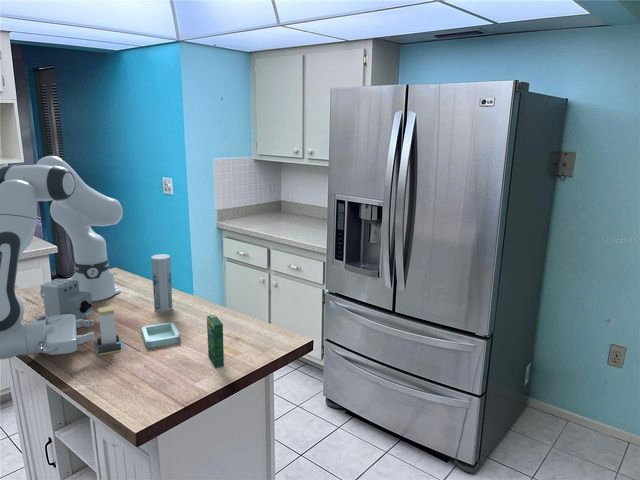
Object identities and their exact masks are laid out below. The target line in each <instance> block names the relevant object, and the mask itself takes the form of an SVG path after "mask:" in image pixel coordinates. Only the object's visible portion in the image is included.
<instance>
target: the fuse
mask: <svg viewBox="0 0 640 480" xmlns="http://www.w3.org/2000/svg"><path fill="white" fill-rule="evenodd" d="M97 311H98V319H99V331H100V337H101V345H105V344H111V343H116V334H117V332H116V321H115V319H116V318H115V308H114V305H110V306H104V307H98V310H97Z"/></svg>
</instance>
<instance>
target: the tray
mask: <svg viewBox="0 0 640 480" xmlns="http://www.w3.org/2000/svg"><path fill="white" fill-rule="evenodd" d="M141 335H142V336H141V337H143V341H144V344H145V347H146V349H152V348H157V347H161V346H162V347H163V346H167V345H174V344H181V335H180V333H179V331H178V329H177V327H176V325H175V323H174V321H170V322H163V323H156V324H151V325H145V326H143V325H142V326H141Z"/></svg>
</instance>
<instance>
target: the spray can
mask: <svg viewBox="0 0 640 480" xmlns="http://www.w3.org/2000/svg"><path fill="white" fill-rule="evenodd" d="M150 258H151V260H150V261H151V272H152V273H151V275H152V288H153V289H152V290H153V303H154V304H153V305H154V311H156V312H159V313H166V312H169V311H172V309H173V291H172V288H173V287H172V268H171V267H172V266H171V265H172V264H171V263H172V262H171V255H170V254H166V253H165V254H161V253H160V254H159V253H158V254H154V255H152V256H151V257H150Z"/></svg>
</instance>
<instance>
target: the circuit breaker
mask: <svg viewBox="0 0 640 480" xmlns="http://www.w3.org/2000/svg"><path fill="white" fill-rule="evenodd" d="M39 288H40V290H39V293H40V294H39V295H40V299H42V300H43V304H44V305H43V306H44V315H43V316H45V315H46V316H47V317H50V316H55V315H64V314H74V315H76V320H78V319H83V320H85V318H87V317H89V316H91V315H92V314H94V311H93V301H92V298H91V293H90V292H81V291H79V284H78V281H77V280H71V279H66V278H59V277H58V278H55V279H53V280H50V281H48V282H45V283H43V284H41V285H40V287H39Z"/></svg>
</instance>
